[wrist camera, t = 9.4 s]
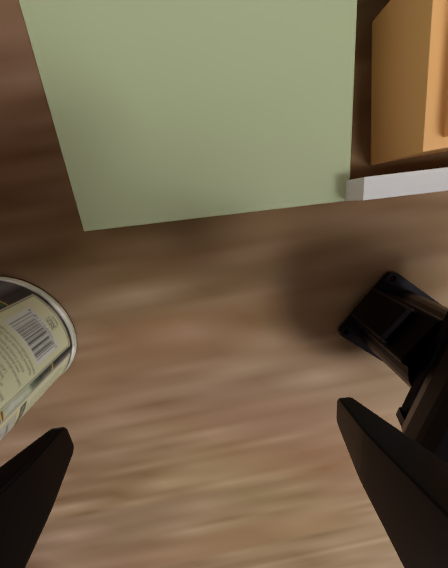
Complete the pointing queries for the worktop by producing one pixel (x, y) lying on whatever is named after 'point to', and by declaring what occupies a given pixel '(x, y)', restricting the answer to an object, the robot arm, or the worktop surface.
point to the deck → (204, 106)
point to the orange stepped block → (409, 80)
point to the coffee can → (30, 347)
